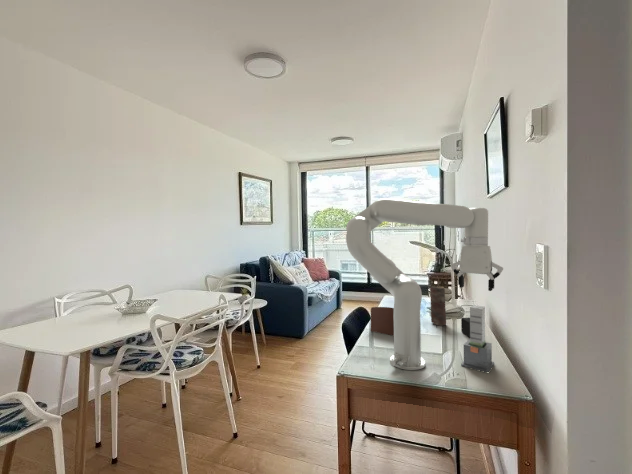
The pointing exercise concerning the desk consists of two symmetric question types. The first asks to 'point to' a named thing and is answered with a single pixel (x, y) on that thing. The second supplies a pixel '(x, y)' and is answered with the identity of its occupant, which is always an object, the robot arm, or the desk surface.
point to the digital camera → (465, 326)
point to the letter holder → (382, 320)
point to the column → (477, 326)
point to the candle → (438, 305)
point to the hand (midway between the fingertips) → (475, 288)
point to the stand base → (478, 357)
